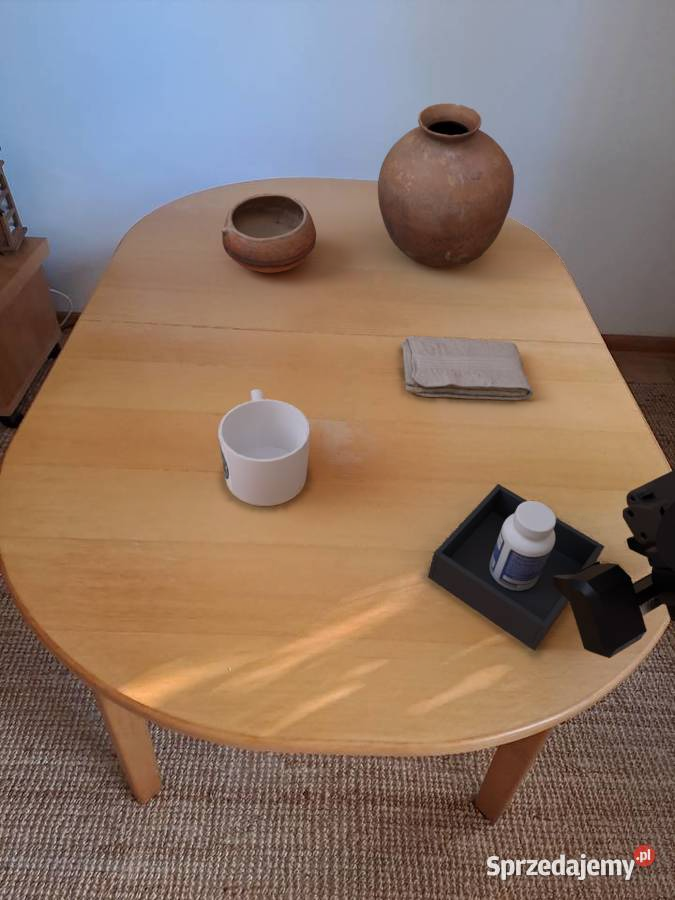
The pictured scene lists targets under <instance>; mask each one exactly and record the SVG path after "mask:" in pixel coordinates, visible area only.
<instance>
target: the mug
mask: <svg viewBox="0 0 675 900" xmlns="http://www.w3.org/2000/svg"><path fill="white" fill-rule="evenodd" d="M217 437H218V442H219V443H218V444H219V448H220V454H221V460H222V466H223V472H224V478H225V483H226V486H227V489H228V490H229V491H230V492H231V494H232V495H233V496H235V497H236V498H237V499H238V500H240V501H241V502H244V503H246V504H249V505H252V506H258V507H272V506H277V505H282V504H284V503H286V502H288V501H291V500H292V499H294V498H295V497H296V496H298V495H299V494H300V493H301V491H302V490H303V488H304V487H305V484H306V481H307V474H308V465H309V464H308V463H309V453H310V443H311V425H310V423H309V419H307V417H306V415H305V414H304V413H303V412H302V411H301V410H300V409H299V408H297V407H296V406H294V405H292V404H290V403H287V402H284V401H282V400H277V399H271V398H264V392H263V390H262V389H260V388H256V389H252V390H251V391H250V400H249V401H248V400H247V401H245V402H243V403H240V404H237V405H236V406H234V407H233V408H232V409H230V410H228V411H227V412H226V414H225V415H224V416H223V417H222V419H221V420H220V423H219V424H218V432H217Z"/></svg>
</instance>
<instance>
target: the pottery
mask: <svg viewBox="0 0 675 900" xmlns="http://www.w3.org/2000/svg"><path fill="white" fill-rule="evenodd" d="M417 122H418V125H419V126H416V127H414V128H413V129H410V130H409V131H408V132H407V133H405V134H404V135H403V136H401V138H399V139H398V140H396V142H395V143H394V144H393V145H392V147H391V148H390V149H389V150H388V152H387V153H386V156H385V157H384V159H383V161H382V164H381V167H380V170H379V173H378V179H377V198H378V206H379V209H380V210H379V211H380V214H381V217H382V220H383V221H382V222H383V224H384V227H385V229H386V231H387V234H388V236H389V238H390V240H391V241H392V243H393V244H394V245H395V246H396V247H397V248H398V250H400V252H402V253H403V254H404V255H406V256H408V257H409V258H410V259H412V260H413V261H416V262H419V263H421V264H424V265H427V266H434V267H457V266H462V265H466V264H469V263H471V262H474V261H476V260H478V259H479V258H480V257H481V256H482V255H483V254H484V253H485V252H486V251H487V250H489V248H491V246H492V245H493V244H494V242H495V241H496V240H497V237H498V236H499V234H500V233H501V230H502V228H503V226H504V225H505V224H504V223H505V221H506V218H507V217H508V213H509V210H510V208H511V204H512V200H513V196H514V187H515V174H514V173H515V172H514V167H513V165H512V162H511V159H510V158H509V157H508V154H507V153H506V152H505V151H504V149H503V148H502V147H501V146H500V145H499V143H498V142H497V141H496V140H495V139H494V138H493V137H491V136H490V135H489V134H488V133H486V132H484V130H483V131H482V130H481V129H480V128H481V126H482V117H481V115H480V113H478V112H477V110H475V109H474V108H471V107H469V106H467V105H463V104H456V103H437V104H432V105H429V106H427V107H425V108H424V109H422V110H421V111H420V112H419V114H418V118H417Z"/></svg>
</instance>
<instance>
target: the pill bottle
mask: <svg viewBox="0 0 675 900" xmlns="http://www.w3.org/2000/svg"><path fill="white" fill-rule="evenodd" d="M555 514H556V513H554V511H553V510H552V509H551V508H550V507H549V506H548V505H546V504H545V503H543V502H540V501H535V500H527V501H526V502H523V503H521V504H520V505H519V506H518V507H517V509H516V511H515V513H514V514H512V515H510V516H509V517H508V518H507V519H506V520H505V522H504V524H503V526H502V529H501V532H500V535H499V537H498V540H497V543H496V546H495V549H494V551H493V554H492V557H491V560H490V572H491V574H492V576H493V578H494V579H495V580H496V581H497V582H498V583H499V584H500V585H501V586H503V587H505V588H507V589H510V590H514V591H523V590H527V589H529V588H531V587H532V586H534V585H535V583H536V582H537V580H538V578H539V576H540V574H541V572H542V570H543V567H544V565H545V563H546V561H547V559H548V557H549V554H550V552H551V550H552V548H553V546H554V543H555V532H554V530H553V529H554V526H555V523H556V518H557V516H556V515H555Z"/></svg>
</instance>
